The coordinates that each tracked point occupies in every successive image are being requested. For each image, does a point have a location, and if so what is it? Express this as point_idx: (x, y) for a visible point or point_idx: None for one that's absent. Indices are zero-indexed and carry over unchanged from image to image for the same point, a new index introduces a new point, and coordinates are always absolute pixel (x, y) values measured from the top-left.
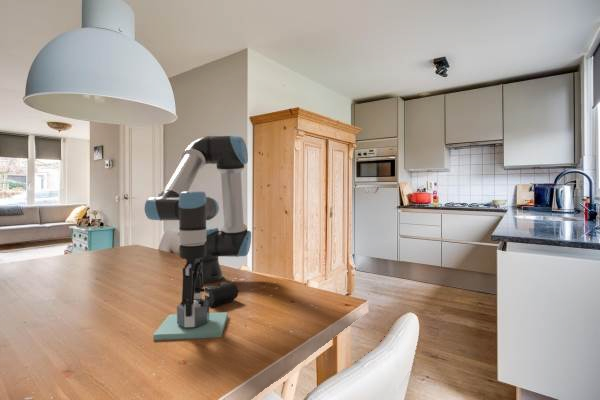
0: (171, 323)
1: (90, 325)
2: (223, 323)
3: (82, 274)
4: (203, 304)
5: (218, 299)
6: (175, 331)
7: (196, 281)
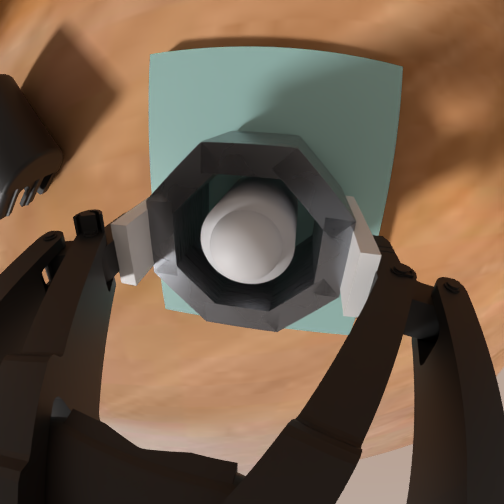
0: None
1: (215, 428)
2: (300, 50)
3: None
4: (265, 176)
5: (43, 135)
6: None
7: (90, 324)
